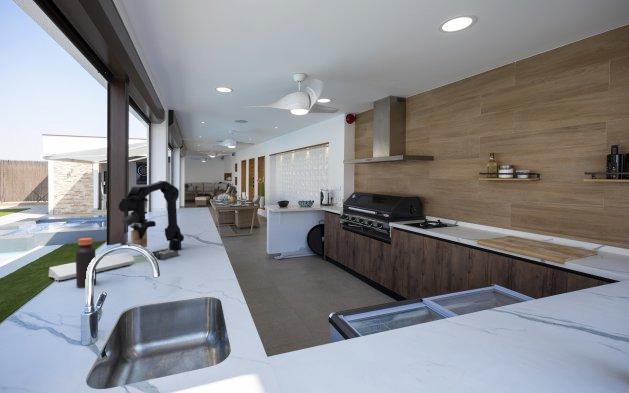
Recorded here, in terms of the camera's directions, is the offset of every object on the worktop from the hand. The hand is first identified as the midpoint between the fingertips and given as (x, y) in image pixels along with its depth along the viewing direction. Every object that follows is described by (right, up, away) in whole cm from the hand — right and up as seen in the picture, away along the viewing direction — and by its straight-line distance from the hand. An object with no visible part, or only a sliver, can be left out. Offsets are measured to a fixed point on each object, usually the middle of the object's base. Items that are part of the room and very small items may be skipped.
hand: (139, 238), depth 171 cm
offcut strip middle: (+8, -12, +11) cm, 18 cm away
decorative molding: (-13, -14, -16) cm, 24 cm away
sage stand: (0, -13, +1) cm, 13 cm away
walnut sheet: (0, -5, 0) cm, 5 cm away
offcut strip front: (+11, -12, +10) cm, 19 cm away
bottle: (-3, -15, -36) cm, 39 cm away
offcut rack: (+8, -12, +11) cm, 18 cm away
